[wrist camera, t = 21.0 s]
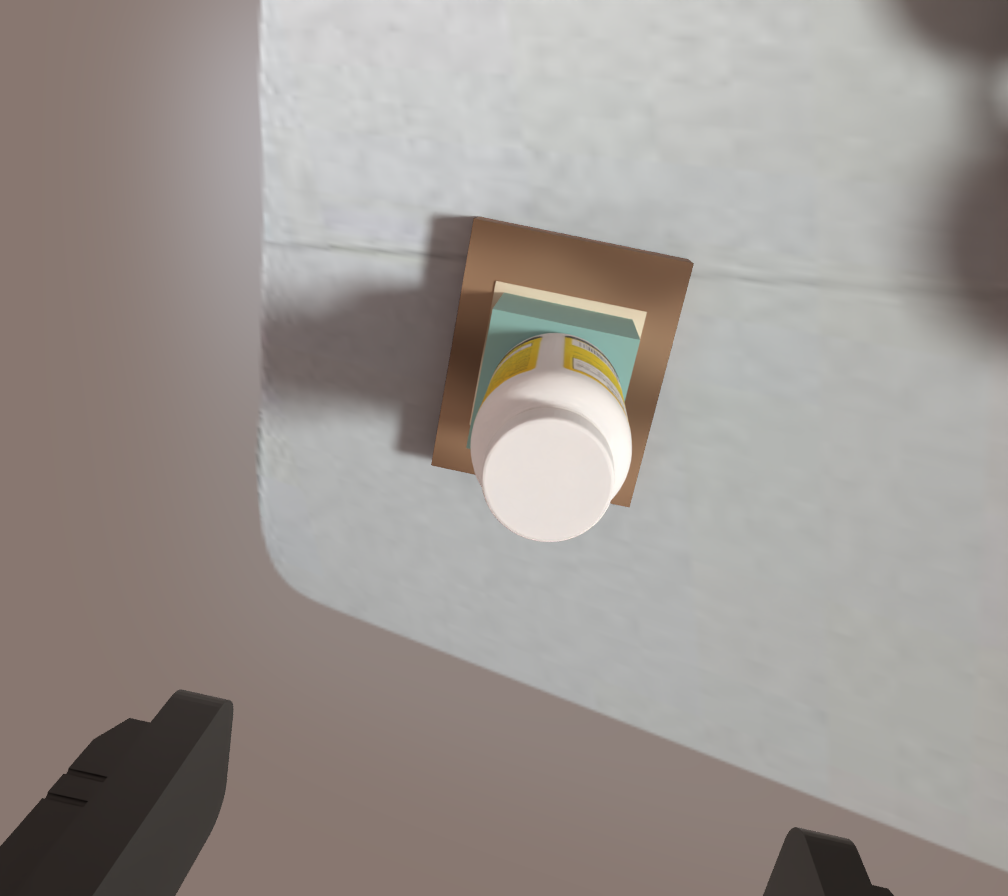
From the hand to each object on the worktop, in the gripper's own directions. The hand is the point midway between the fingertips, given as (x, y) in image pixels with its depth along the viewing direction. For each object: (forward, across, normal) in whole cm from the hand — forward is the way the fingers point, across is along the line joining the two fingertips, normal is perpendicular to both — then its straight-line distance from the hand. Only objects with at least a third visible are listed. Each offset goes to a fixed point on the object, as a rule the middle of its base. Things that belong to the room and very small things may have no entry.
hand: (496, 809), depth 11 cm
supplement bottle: (+23, 0, 0) cm, 23 cm away
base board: (+30, 0, 0) cm, 30 cm away
